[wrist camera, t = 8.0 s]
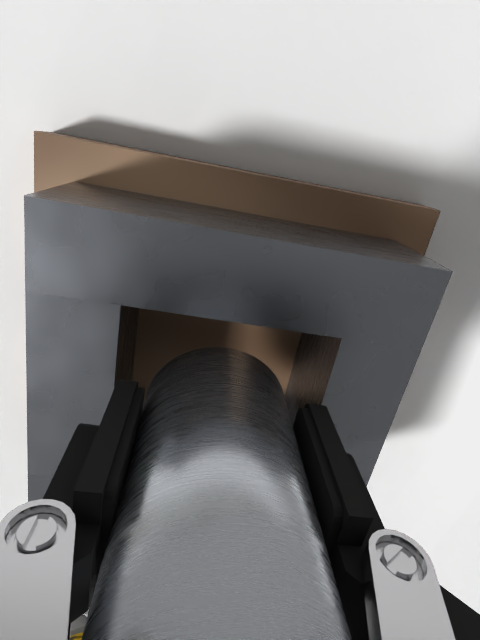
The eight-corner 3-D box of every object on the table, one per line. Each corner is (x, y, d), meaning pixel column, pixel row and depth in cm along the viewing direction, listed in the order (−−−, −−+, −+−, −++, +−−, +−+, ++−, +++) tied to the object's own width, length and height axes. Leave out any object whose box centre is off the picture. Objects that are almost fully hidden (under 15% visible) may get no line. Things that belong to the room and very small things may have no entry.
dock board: (326, 476, 22) (334, 499, 20) (48, 447, 20) (35, 470, 18) (421, 205, 16) (440, 210, 15) (51, 132, 14) (34, 131, 13)
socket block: (316, 476, 19) (339, 554, 16) (66, 450, 18) (28, 528, 14) (394, 239, 15) (452, 271, 11) (75, 181, 14) (24, 195, 10)
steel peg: (268, 469, 14) (346, 930, 6) (138, 456, 14) (22, 946, 5) (299, 358, 12) (467, 784, 4) (152, 337, 12) (14, 783, 4)
